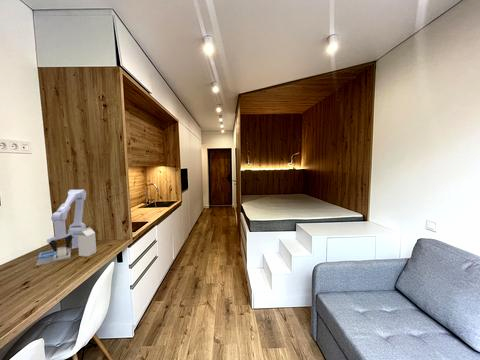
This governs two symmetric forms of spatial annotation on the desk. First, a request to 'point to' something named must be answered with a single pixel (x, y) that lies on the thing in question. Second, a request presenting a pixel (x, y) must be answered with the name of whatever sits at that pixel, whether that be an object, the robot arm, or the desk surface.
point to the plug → (61, 252)
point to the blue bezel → (46, 255)
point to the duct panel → (53, 257)
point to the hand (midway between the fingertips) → (61, 249)
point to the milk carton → (87, 242)
